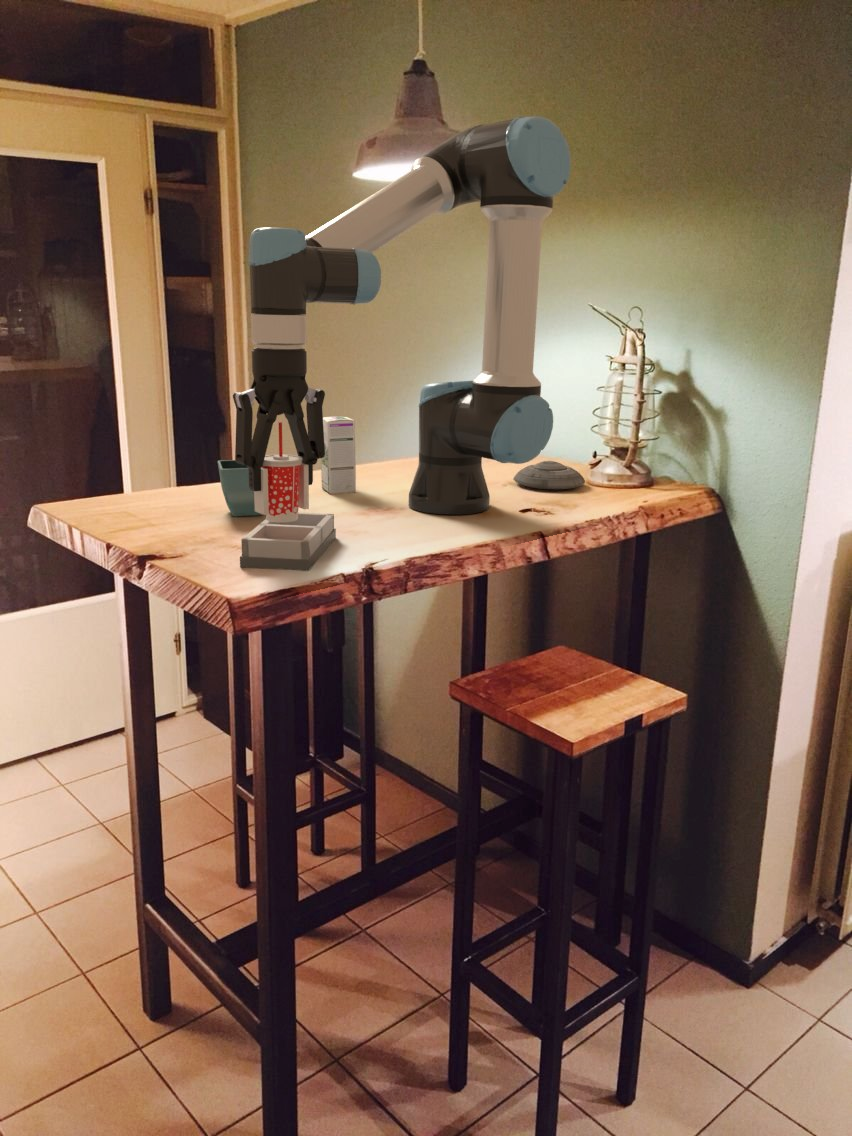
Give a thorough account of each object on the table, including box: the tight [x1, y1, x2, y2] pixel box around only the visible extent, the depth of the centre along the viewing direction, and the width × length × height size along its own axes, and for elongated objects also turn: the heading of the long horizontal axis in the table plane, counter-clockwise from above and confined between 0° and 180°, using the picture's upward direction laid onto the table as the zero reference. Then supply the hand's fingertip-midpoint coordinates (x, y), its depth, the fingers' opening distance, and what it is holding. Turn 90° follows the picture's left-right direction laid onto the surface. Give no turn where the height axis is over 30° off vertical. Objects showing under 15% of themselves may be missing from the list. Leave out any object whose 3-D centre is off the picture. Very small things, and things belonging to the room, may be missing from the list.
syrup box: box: [320, 415, 357, 495], centre depth 184 cm, size 6×6×14 cm
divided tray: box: [239, 511, 337, 571], centre depth 141 cm, size 10×19×4 cm, turn 174°
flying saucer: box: [513, 460, 586, 490], centre depth 196 cm, size 15×15×6 cm
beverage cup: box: [262, 421, 302, 523], centre depth 134 cm, size 6×6×14 cm
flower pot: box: [217, 459, 263, 517], centre depth 164 cm, size 9×9×9 cm
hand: (282, 509), depth 136 cm, fingers closed on beverage cup, 6 cm apart
